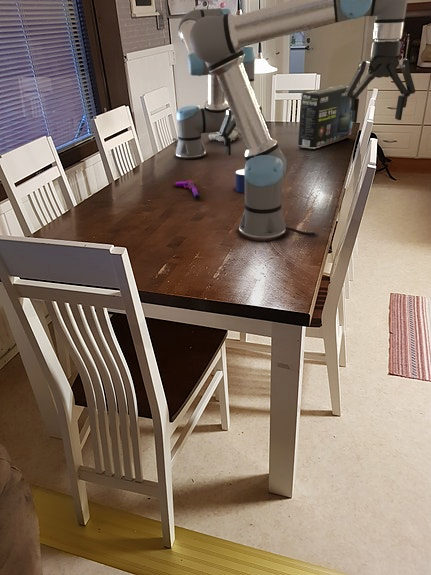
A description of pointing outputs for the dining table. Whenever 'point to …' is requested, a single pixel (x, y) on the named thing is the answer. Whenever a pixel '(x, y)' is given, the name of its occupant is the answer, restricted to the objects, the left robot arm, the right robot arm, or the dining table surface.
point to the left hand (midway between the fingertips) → (244, 152)
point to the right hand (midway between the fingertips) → (375, 120)
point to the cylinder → (240, 181)
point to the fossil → (216, 136)
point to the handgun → (189, 185)
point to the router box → (324, 116)
